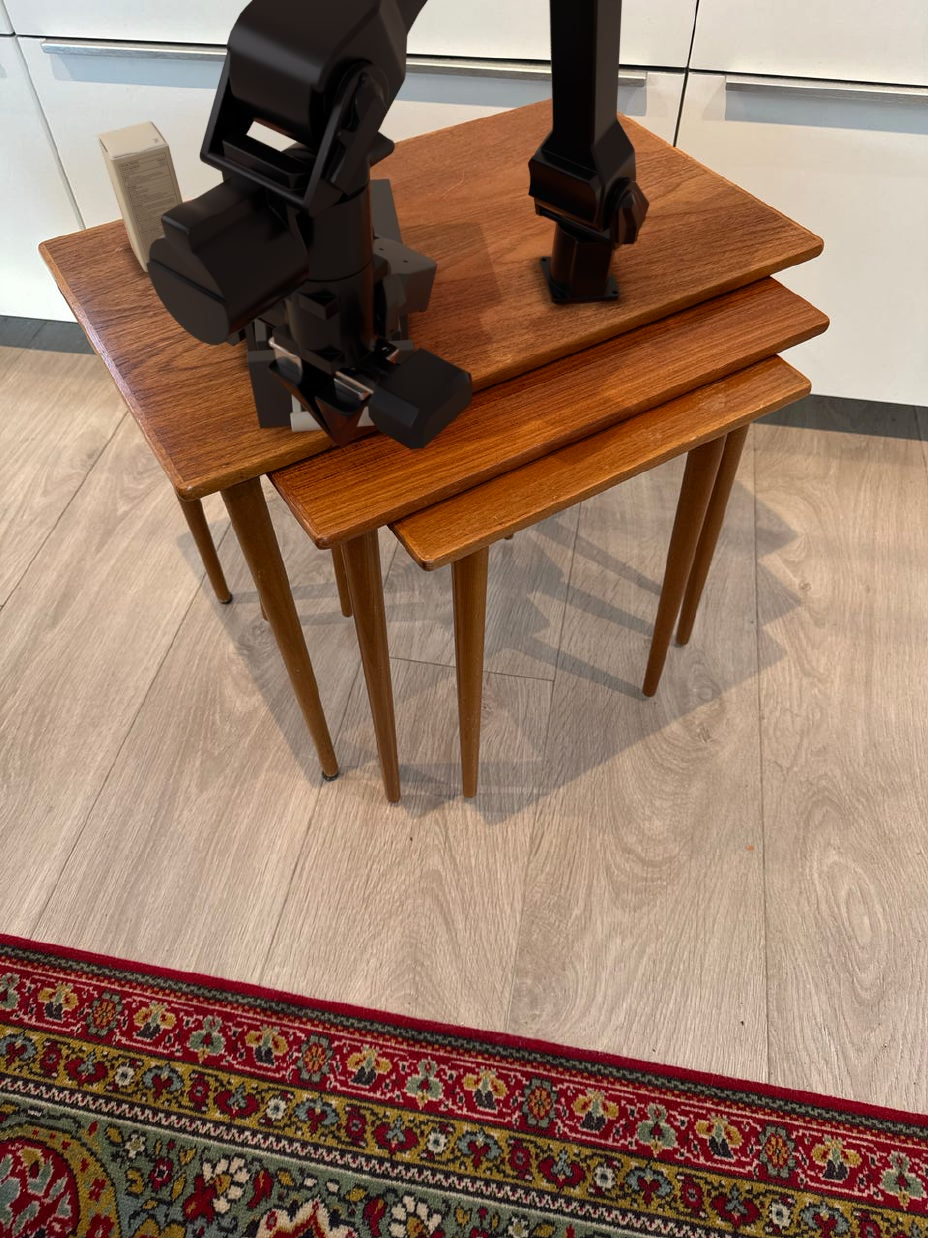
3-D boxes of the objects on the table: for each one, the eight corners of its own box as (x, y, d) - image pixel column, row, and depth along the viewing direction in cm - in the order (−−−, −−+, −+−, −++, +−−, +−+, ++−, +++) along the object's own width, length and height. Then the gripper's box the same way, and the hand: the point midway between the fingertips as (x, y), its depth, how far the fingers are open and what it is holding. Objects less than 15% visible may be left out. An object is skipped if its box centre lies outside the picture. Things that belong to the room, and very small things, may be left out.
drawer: (421, 454, 72) (422, 388, 66) (262, 468, 71) (248, 401, 65) (397, 324, 81) (396, 256, 75) (254, 334, 79) (242, 265, 73)
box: (182, 234, 88) (155, 118, 79) (198, 259, 86) (172, 142, 77) (128, 249, 86) (94, 131, 77) (143, 274, 84) (110, 157, 75)
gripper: (533, 249, 55) (510, 437, 68) (298, 138, 60) (319, 331, 73) (417, 346, 49) (417, 529, 62) (172, 214, 55) (219, 408, 68)
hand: (342, 441), depth 67 cm, fingers closed
